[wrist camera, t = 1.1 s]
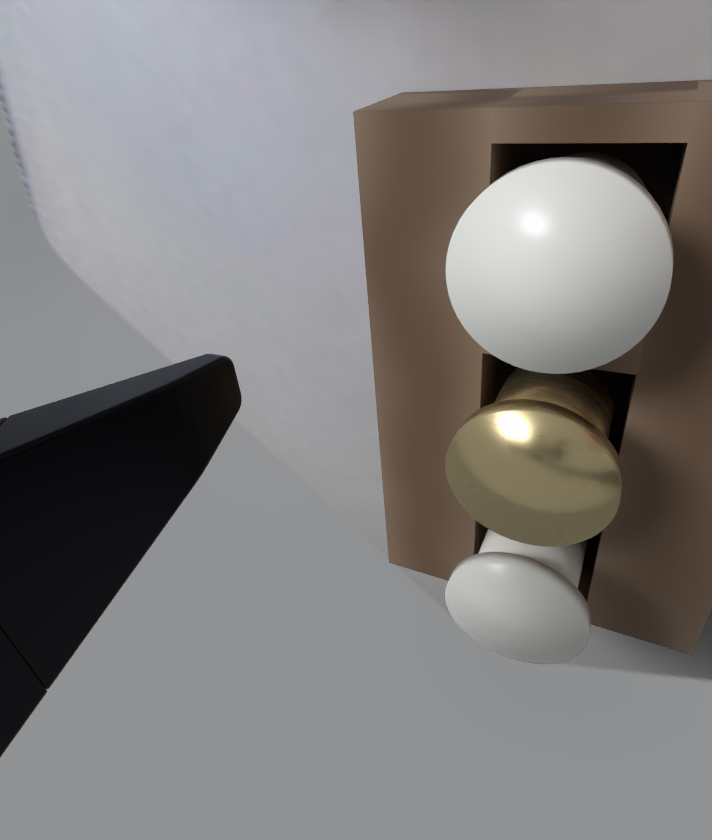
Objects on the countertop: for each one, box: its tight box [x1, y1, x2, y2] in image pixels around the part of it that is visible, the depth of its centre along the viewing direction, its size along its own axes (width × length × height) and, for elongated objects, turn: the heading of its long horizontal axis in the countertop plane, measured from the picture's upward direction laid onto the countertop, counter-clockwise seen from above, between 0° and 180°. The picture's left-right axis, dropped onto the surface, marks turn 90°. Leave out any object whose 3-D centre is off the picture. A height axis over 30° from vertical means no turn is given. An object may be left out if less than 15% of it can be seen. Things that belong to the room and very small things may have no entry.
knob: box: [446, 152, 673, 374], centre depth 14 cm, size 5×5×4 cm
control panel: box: [353, 80, 712, 655], centre depth 20 cm, size 12×18×4 cm, turn 5°
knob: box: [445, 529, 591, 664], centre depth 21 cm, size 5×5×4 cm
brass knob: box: [445, 368, 623, 547], centre depth 18 cm, size 5×5×4 cm
